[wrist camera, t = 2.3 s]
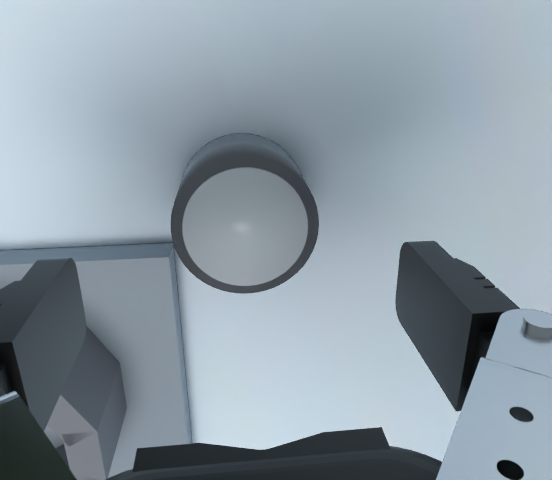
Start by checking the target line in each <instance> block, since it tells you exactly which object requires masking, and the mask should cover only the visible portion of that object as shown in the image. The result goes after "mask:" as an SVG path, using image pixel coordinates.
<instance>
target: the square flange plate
mask: <svg viewBox="0 0 552 480" xmlns="http://www.w3.org/2000/svg"><path fill="white" fill-rule="evenodd" d="M60 258H72V259H73V260H74V262H75V264H76V267H77V272H78V278H79V283H80V289H81V294H82V300H83V306H84V311H85V317H86V333H85V339H84V342H83V344H82V347H81V349H80V351H79V354H78V356H77V358H76V360H75V363H74V365H73V367H72V369H71V372H70V374H69V376H68V378H67V381H66V383H65V385H64V387H63V390H62V392H61V394H60V396H59V399H58V401H57V403H56V405H55V408H54V410H53V412H52V415H51V417H50V419H49V421H48V424H47V426H46V428H45V430H44V433H45V434H46V435H47V437H48V438H49V440H50V441H51V443H52V444H53V446H54V447H55V449H56V450H57V451H58V453H59V454H60V456H61V457H62V459H63V460H64V462H65V463H66V465H67V466H68V467H69V469H70V470H71V472H72V473H73V475H74V476H75V478H76V479H77V480H105V479H107V478H109V477H112V476H114V475H117V474H119V473H122V472H124V471H127V470H131V469H133V466H134V461H135V456H136V451H137V448H146V447H158V446H170V445H182V444H192V436H191V425H190V415H189V405H188V394H187V384H186V373H185V363H184V353H183V342H182V332H181V321H180V311H179V300H178V290H177V280H176V269H175V259H174V248H173V243H159V244H136V245H113V246H91V247H68V248H45V249H23V250H0V289H2V288H3V287H5V286H7V285H8V284H10V283H12V282H13V281H20V280H21V279H22V278H23V277H24V276H25V274H26V273H27V272H28V271H29V269H30V268H31V267H32V266H33V264H34V263H35V262H36V261H37V260H40V259H60Z"/></svg>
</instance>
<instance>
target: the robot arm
mask: <svg viewBox="0 0 552 480" xmlns="http://www.w3.org/2000/svg"><path fill="white" fill-rule="evenodd" d="M396 311H397V316H398V319H399V321H400V323H401V325H402V326H403V328H404V329H405V331H406V333H407V334H408V336H409V337H410V339H411V341H412V342H413V344H414V345H415V347H416V348H417V350H418V352H419V353H420V355H421V356H422V358H423V360H424V361H425V363H426V364H427V366H428V367H429V369H430V371H431V372H432V374H433V375H434V377H435V379H436V380H437V382H438V383H439V385H440V387H441V388H442V390H443V391H444V393H445V394H446V396H447V398H448V399H449V401H450V402H451V404H452V406H453V407H454V409H455V410H456V411H461V413H460V415H459V418H458V421H457V423H456V426H455V429H454V432H453V434H452V437H451V440H450V443H449V445H448V448H447V451H446V454H445V456H444V459H443V462H441V461H439V460H437V459H434V458H432V457H430V456H427V455H425V454H421V453H418V452H415V451H412V450H408V449H403V448H399V447H392V446H389V444H388V442H387V439H386V437H385V435H384V432H383V430H382V427H380V428H369V429H357V430H345V431H334V432H323V433H320V434H316V435H313V436H310V437H307V438H303V439H300V440H297V441H293V442H290V443H287V444H283V445H280V446H277V447H274V448H270V449H266V450H255V449H246V448H238V447H229V446H221V445H212V444H204V443H193V444H182V445H170V446H158V447H146V448H137V451H136V456H135V461H134V466H133V469H131V470H127V471H124V472H122V473H119V474H117V475H114V476H112V477H109V478H107V479H105V480H552V314H550V313H546V312H543V311H538V310H532V309H520V308H519V307H518V306H517V305H516V304H514V303H513V302H512V301H511V300H510V299H509V298H508V297H507V296H506V295H505V294H503V293H502V292H501V291H500V290H499V289H498V288H495V285H493V284H492V283H491V282H490V281H489V280H488V279H485V276H484V275H482V274H481V273H480V272H479V271H478V270H477V269H476V268H475V267H473V266H471V265H469V264H467V263H465V262H463V261H461V260H459V259H457V258H452V257H451V256H450V255H449V254H448V253H447V252H446V251H445V250H444V249H443V248H442V247H441V246H440V245H439V244H438V243H437V242H435V241H420V242H405V243H403V245H402V247H401V251H400V259H399V269H398V279H397V290H396ZM85 333H86V317H85V311H84V306H83V300H82V294H81V289H80V283H79V278H78V272H77V267H76V264H75V262H74V260H73V259H72V258H60V259H40V260H37V261H36V262H35V263H34V264H33V266H32V267H31V268H30V269H29V271H28V272H27V273H26V274H25V276H24V277H23V278H22V279H21V280H20V281H13V282H12V283H10V284H8V285H7V286H5V287H3V288H2V289H0V480H77V479H76V478H75V476H74V475H73V473H72V472H71V470H70V469H69V467H68V466H67V465H66V463H65V462H64V460H63V459H62V457H61V456H60V454H59V453H58V451H57V450H56V449H55V447H54V446H53V444H52V443H51V441H50V440H49V438H48V437H47V435H46V434H45V433H44V430H45V428H46V426H47V424H48V421H49V419H50V417H51V415H52V412H53V410H54V408H55V405H56V403H57V401H58V399H59V396H60V394H61V392H62V390H63V387H64V385H65V383H66V381H67V378H68V376H69V374H70V372H71V369H72V367H73V365H74V363H75V360H76V358H77V356H78V354H79V351H80V349H81V347H82V344H83V342H84V339H85Z"/></svg>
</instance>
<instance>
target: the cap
mask: <svg viewBox="0 0 552 480" xmlns="http://www.w3.org/2000/svg"><path fill="white" fill-rule="evenodd" d="M318 227H319V220H318V212H317V206H316V204H315V201H314V198H313V196H312V194H311V192H310V190H309V188H308V186H307V184H306V183H305V181H304V179H303V177H302V175H301V174H300V172H299V170H298V168H297V166H296V165H295V163H294V161H293V160H292V158H291V157H290V156H289V155H288V153H287V152H286V151H285V150H284V149H282V148H281V147H280V146H279V145H277V144H276V143H274V142H273V141H271V140H269V139H267V138H265V137H261V136H258V135H254V134H246V133H238V134H230V135H225V136H222V137H219V138H217V139H215V140H213V141H211V142H209V143H208V144H206V145H205V146H203V147H202V148H201V149H200V150H199V151H198V152H197V153H196V154H195V155H194V156H193V158H192V159H191V160H190V162H189V164H188V165H187V167H186V170H185V172H184V175H183V178H182V181H181V184H180V187H179V190H178V193H177V196H176V199H175V202H174V206H173V210H172V215H171V234H172V240H173V243H174V247H175V249H176V251H177V254H178V256H179V257H180V259H181V261H182V262H183V264H184V265H185V266H186V267H187V268H188V270H189V271H190V272H191V273H192V274H194V275H195V276H196V277H197V278H198V279H200V280H201V281H203V282H204V283H206V284H208V285H210V286H212V287H214V288H217V289H220V290H223V291H227V292H233V293H255V292H260V291H265V290H268V289H271V288H274V287H276V286H278V285H280V284H282V283H284V282H285V281H287V280H288V279H290V278H291V277H292V276H293V275H295V274H296V273H297V272H298V271H299V270H300V269H301V268H302V267H303V266H304V264H305V263H306V261H307V260H308V259H309V257H310V255H311V253H312V251H313V249H314V246H315V243H316V240H317V235H318Z"/></svg>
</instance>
